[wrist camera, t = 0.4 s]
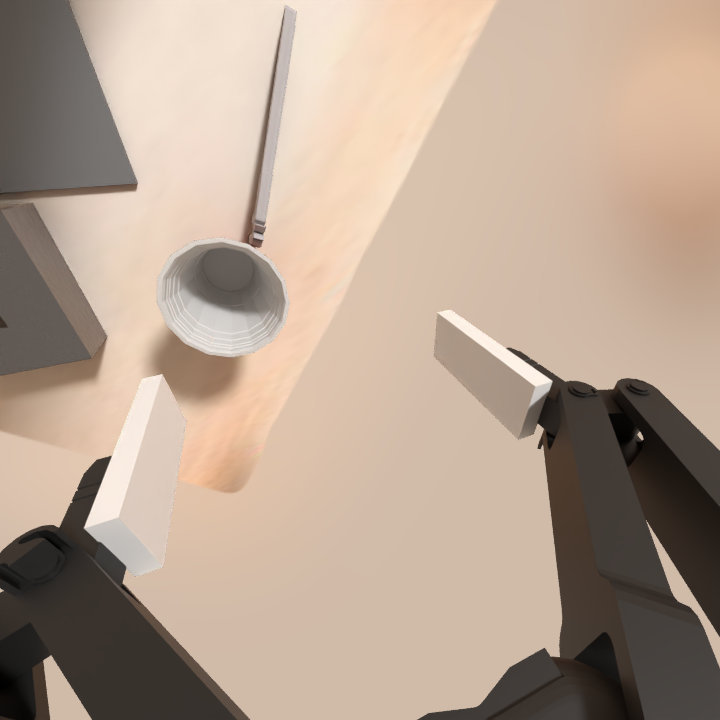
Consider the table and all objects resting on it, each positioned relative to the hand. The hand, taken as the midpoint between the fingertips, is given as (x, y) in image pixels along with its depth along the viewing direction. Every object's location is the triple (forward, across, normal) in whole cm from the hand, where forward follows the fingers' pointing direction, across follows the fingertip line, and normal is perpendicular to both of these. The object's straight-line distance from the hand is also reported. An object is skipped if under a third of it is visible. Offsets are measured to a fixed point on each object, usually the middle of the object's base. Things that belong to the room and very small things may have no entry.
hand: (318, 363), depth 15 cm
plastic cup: (+28, -5, -2) cm, 28 cm away
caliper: (+28, +2, +10) cm, 30 cm away
